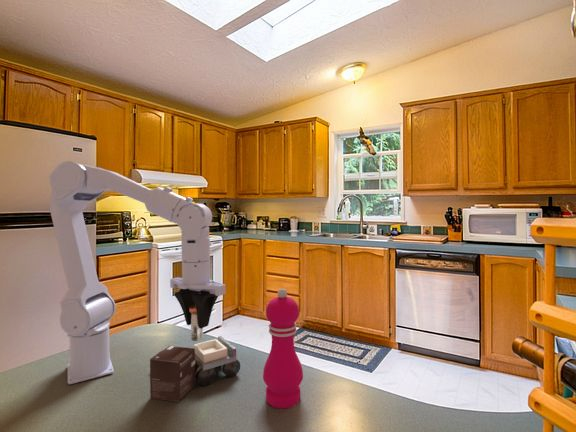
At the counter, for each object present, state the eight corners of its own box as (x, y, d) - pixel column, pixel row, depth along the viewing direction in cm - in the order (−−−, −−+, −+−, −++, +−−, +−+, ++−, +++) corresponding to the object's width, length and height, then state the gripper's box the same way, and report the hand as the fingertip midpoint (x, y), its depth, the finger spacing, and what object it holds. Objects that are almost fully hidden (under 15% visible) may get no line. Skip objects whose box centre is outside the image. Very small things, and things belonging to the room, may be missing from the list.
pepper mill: (297, 385, 62) (296, 283, 62) (307, 407, 55) (307, 292, 55) (260, 389, 60) (259, 285, 60) (266, 413, 53) (265, 294, 53)
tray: (193, 351, 67) (193, 344, 67) (216, 346, 70) (216, 338, 70) (203, 362, 63) (203, 354, 63) (227, 356, 65) (227, 348, 65)
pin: (187, 336, 68) (187, 305, 67) (202, 334, 69) (202, 303, 69) (190, 342, 65) (190, 310, 65) (206, 339, 66) (206, 307, 66)
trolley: (185, 371, 67) (185, 344, 67) (225, 360, 73) (224, 334, 73) (198, 388, 61) (198, 358, 61) (240, 374, 66) (240, 347, 66)
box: (178, 403, 56) (178, 362, 56) (149, 398, 58) (148, 358, 58) (196, 385, 62) (195, 348, 62) (169, 381, 64) (168, 345, 64)
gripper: (157, 260, 67) (159, 324, 67) (206, 266, 59) (208, 338, 60) (184, 256, 73) (185, 315, 73) (232, 260, 65) (233, 326, 66)
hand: (197, 325), depth 67 cm, fingers closed on pin, 3 cm apart
